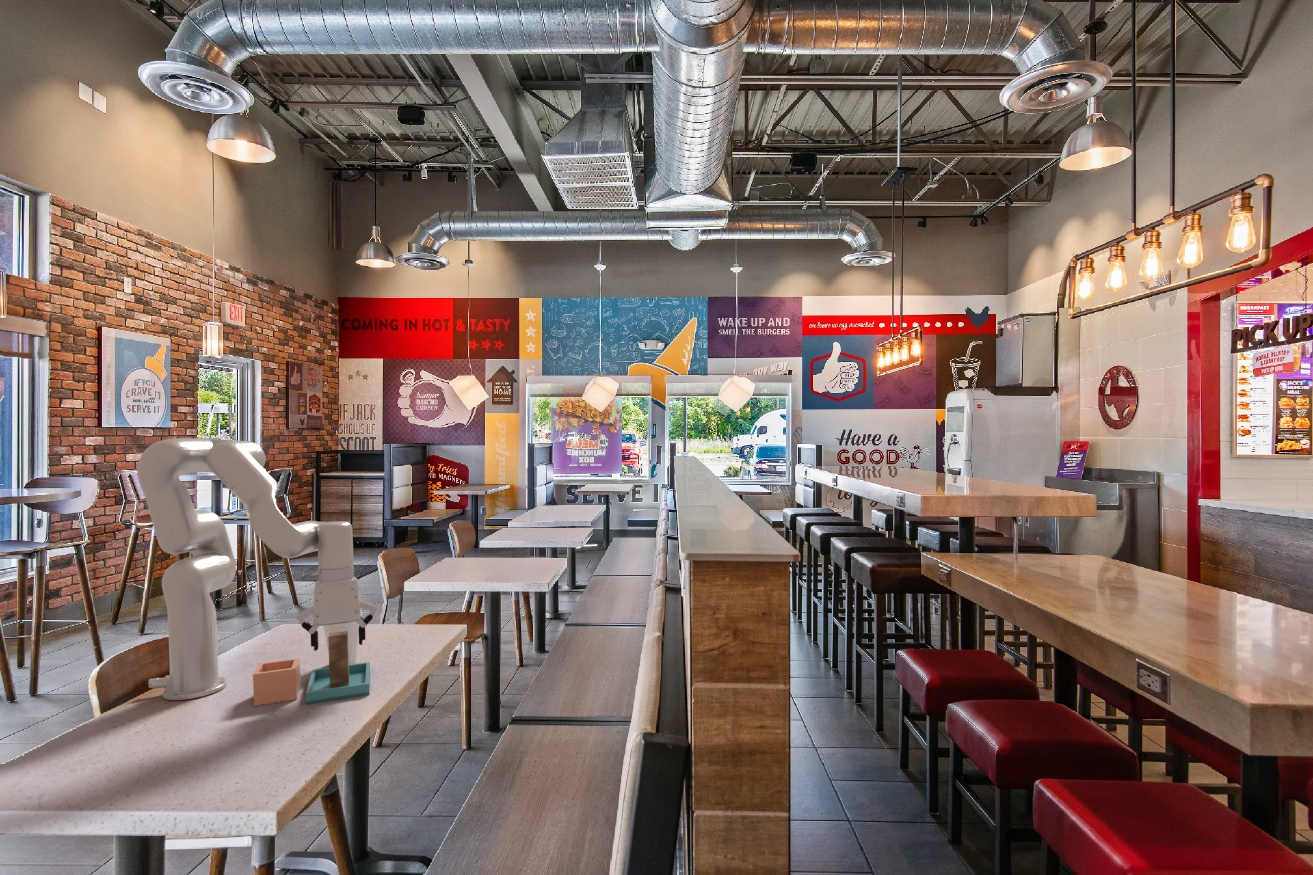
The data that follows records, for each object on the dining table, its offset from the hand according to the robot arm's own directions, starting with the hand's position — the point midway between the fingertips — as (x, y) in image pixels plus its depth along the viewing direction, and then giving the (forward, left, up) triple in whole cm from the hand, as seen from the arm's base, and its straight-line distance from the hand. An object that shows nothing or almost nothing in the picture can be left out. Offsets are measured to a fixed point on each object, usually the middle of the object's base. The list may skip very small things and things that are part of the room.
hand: (338, 646), depth 164 cm
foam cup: (0, +19, -10) cm, 21 cm away
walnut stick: (0, 0, -9) cm, 9 cm away
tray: (0, 0, -10) cm, 10 cm away
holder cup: (-13, 0, -10) cm, 16 cm away
